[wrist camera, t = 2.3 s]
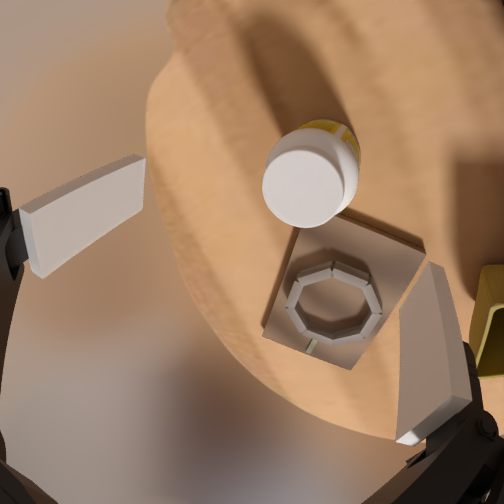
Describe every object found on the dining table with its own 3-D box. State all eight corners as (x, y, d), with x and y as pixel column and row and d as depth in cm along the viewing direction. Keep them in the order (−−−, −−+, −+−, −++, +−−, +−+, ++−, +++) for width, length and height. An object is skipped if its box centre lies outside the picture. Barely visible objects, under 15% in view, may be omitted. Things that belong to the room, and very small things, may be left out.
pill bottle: (279, 160, 28) (230, 200, 19) (314, 104, 24) (280, 113, 15) (335, 199, 28) (315, 259, 19) (375, 145, 24) (379, 180, 15)
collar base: (310, 202, 29) (305, 211, 27) (424, 249, 27) (428, 262, 25) (264, 330, 39) (258, 343, 37) (351, 364, 37) (348, 378, 35)
